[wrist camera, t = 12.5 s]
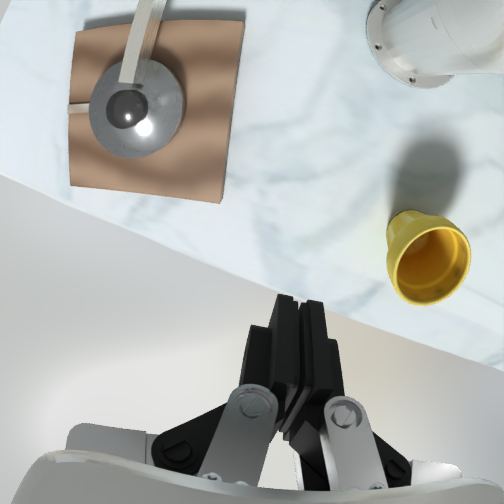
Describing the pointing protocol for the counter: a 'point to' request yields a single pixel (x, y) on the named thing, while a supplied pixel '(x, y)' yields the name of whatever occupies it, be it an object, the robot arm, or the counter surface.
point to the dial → (138, 94)
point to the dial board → (195, 121)
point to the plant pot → (426, 257)
